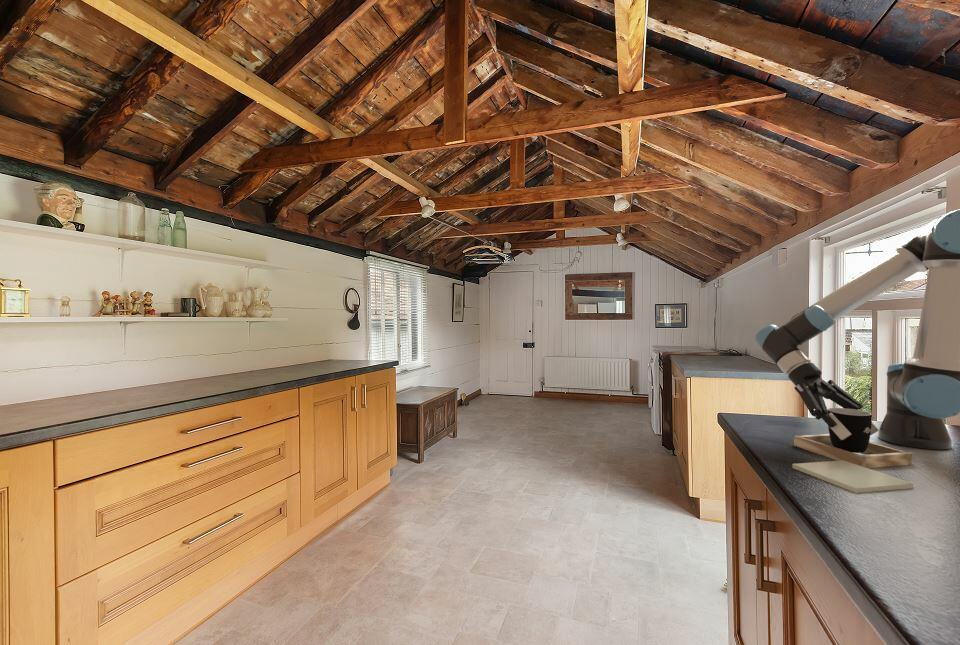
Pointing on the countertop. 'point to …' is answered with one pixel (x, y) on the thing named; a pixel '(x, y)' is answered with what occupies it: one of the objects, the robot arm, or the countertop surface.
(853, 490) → the tile
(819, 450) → the rectangular wooden frame
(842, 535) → the countertop surface
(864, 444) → the mug
